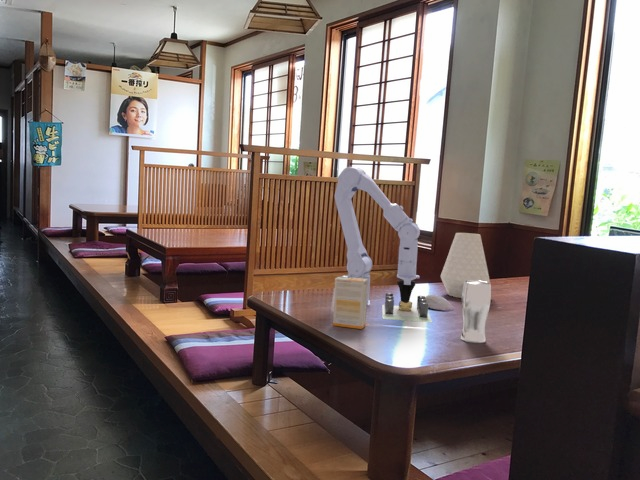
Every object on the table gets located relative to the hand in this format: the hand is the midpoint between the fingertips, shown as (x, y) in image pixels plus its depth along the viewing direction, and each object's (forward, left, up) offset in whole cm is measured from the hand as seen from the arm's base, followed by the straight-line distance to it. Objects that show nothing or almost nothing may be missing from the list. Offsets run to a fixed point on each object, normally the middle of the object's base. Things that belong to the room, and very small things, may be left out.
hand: (404, 303), depth 174 cm
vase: (+23, +32, -2) cm, 39 cm away
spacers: (0, -6, -1) cm, 6 cm away
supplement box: (-16, -27, -2) cm, 32 cm away
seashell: (+11, +4, -2) cm, 11 cm away
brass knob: (0, -4, -1) cm, 5 cm away
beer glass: (+16, -32, -2) cm, 36 cm away
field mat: (0, -8, -2) cm, 9 cm away
